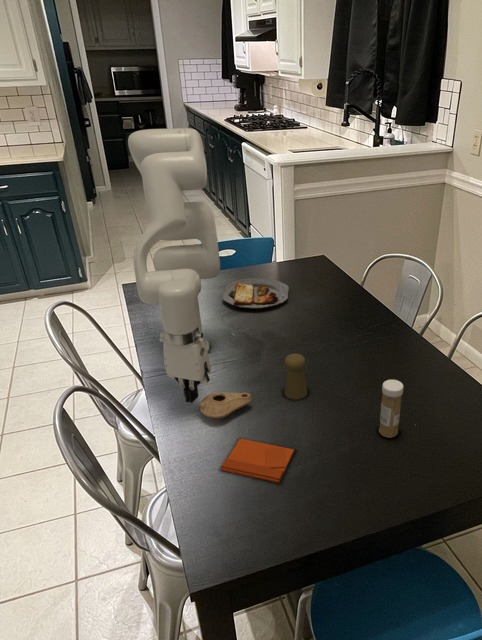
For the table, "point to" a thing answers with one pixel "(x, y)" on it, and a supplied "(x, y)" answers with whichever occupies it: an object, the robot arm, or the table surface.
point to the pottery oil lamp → (223, 403)
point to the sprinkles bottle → (390, 408)
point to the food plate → (255, 293)
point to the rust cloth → (258, 460)
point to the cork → (295, 377)
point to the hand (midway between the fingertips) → (192, 399)
